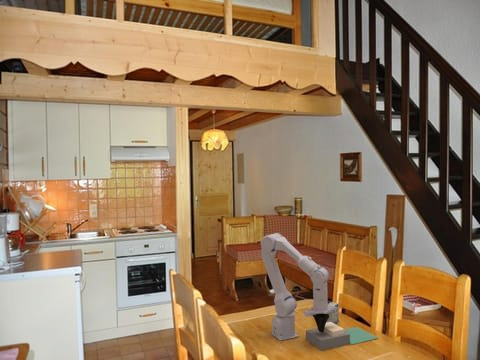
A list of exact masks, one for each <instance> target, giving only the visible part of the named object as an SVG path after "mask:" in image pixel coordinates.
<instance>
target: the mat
mask: <svg viewBox="0 0 480 360" xmlns="http://www.w3.org/2000/svg"><path fill="white" fill-rule="evenodd" d="M344 331H345V332H347V333H349V334H350V344H349V345H351V346H353V345H357V344H361V343H367V342H370V341H375V340H378V339H379V337H377V336H375V335H373V334H372V333H369V332H367V331H365V330H363V329H362V328H360V327H357V326H356V327H351V328H346V329H344Z"/></svg>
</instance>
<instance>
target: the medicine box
mask: <svg viewBox="0 0 480 360" xmlns="http://www.w3.org/2000/svg"><path fill="white" fill-rule="evenodd" d="M328 306H335V307H336V312H328V313H327V314H329V318H328V320H327V322H332V323H334V324H336V325H337V323H338V322H340V320H339V319H340V315H339V314H340V313H339V312H340V311H339V310H340V309H339V308H340V307H339V303H337V302H332V301H330V302H328ZM327 322H326V323H327Z"/></svg>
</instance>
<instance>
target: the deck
mask: <svg viewBox="0 0 480 360" xmlns="http://www.w3.org/2000/svg"><path fill="white" fill-rule="evenodd" d="M305 340H306V341H307V342H309V343H310V344H312V346H314V347H315V348H317V349H319V350H320V351H322V352H323V351H326V350H331V349H335V348H339V347H343V346H347V345H351V344H350V334H349V333H347V332H345V331H344V334H343V335H338V336H334V337H332V336H330V335H329V334H327V333H325V332H319V331H318V327H316V328H311V329H306V330H305Z"/></svg>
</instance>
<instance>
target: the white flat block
mask: <svg viewBox="0 0 480 360" xmlns="http://www.w3.org/2000/svg"><path fill="white" fill-rule="evenodd" d="M344 330H345V329H344V328H343V327H341V326H339V325H337V323H336V324H334V323H332V322H327V323H326V325H325V328H324V332H325V333H327V334H329V335H330V336H332V337H334V336H338V335H343V334H344Z"/></svg>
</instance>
